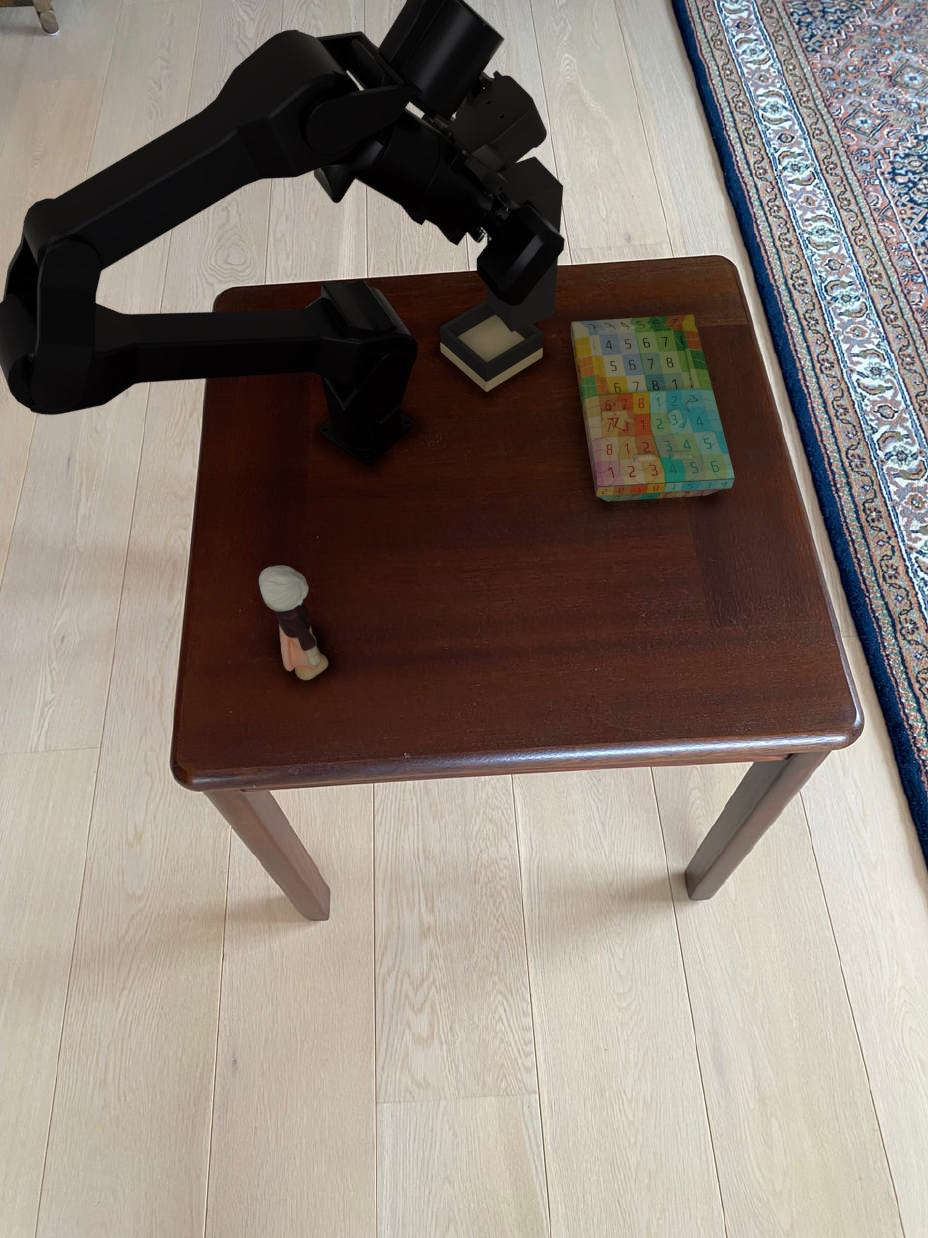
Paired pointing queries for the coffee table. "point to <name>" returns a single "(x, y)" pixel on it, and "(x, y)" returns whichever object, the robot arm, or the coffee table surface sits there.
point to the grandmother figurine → (292, 620)
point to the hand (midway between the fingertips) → (535, 242)
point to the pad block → (547, 196)
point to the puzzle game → (649, 409)
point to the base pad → (489, 346)
